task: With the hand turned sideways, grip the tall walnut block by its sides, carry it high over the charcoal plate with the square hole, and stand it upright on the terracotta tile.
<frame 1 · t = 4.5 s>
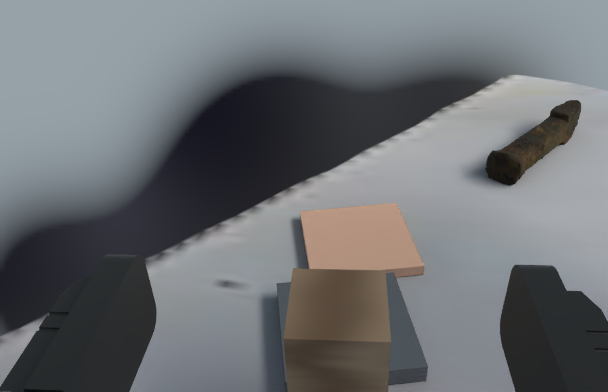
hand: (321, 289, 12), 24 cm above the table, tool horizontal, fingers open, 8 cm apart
hole plate: (345, 334, 42), on the table
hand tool: (534, 154, 66), on the table
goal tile: (357, 244, 52), on the table
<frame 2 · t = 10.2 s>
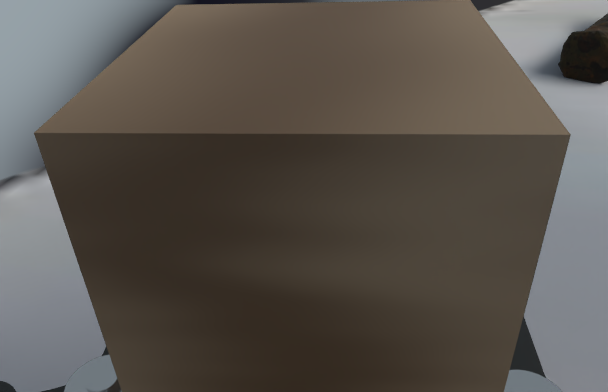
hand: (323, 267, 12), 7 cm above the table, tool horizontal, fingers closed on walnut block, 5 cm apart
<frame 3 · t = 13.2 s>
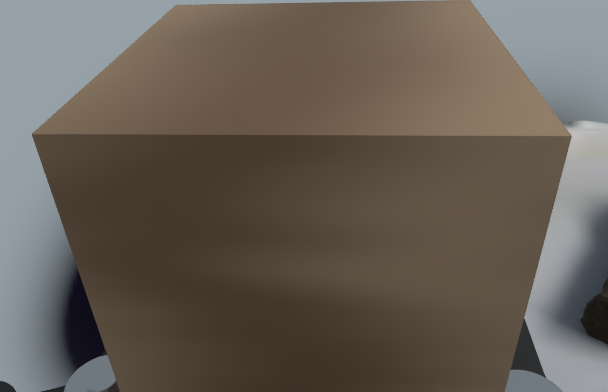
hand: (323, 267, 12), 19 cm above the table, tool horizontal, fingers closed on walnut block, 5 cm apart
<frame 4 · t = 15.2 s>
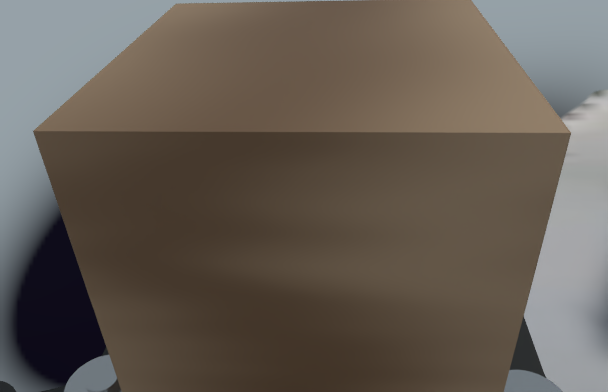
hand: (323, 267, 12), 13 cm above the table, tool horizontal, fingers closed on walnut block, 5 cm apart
when the fingers open (9 cm above the table, at t = 16.6 s): walnut block drops 1 cm, resting on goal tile.
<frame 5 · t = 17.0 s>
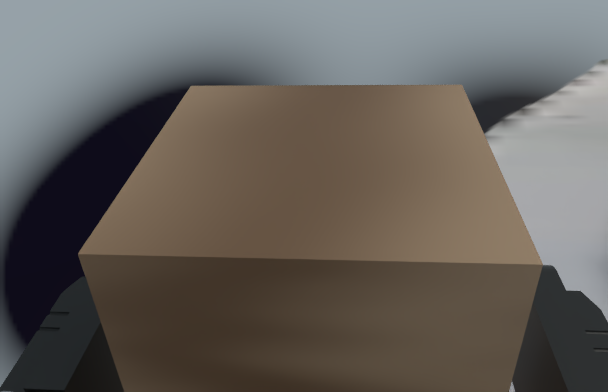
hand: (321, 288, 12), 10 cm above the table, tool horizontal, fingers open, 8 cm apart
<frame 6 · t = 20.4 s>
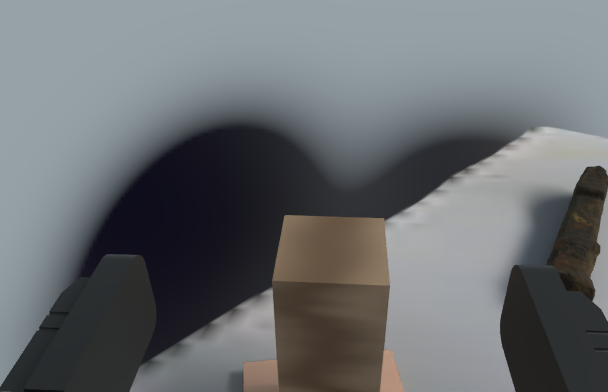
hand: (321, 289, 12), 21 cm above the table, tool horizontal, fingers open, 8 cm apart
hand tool: (566, 249, 48), on the table
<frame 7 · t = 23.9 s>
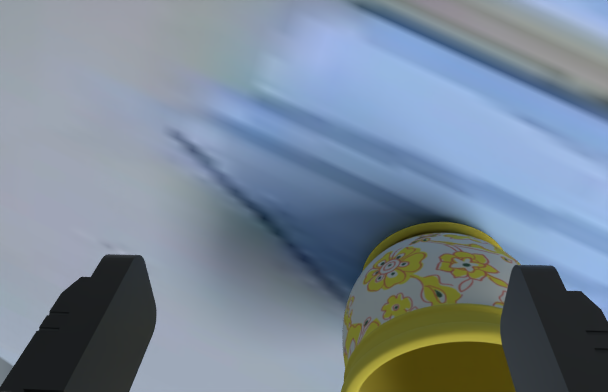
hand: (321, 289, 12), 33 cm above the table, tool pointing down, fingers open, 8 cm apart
flowerpot: (432, 270, 54), on the table
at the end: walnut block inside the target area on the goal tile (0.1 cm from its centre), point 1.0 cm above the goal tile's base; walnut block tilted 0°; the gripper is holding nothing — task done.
